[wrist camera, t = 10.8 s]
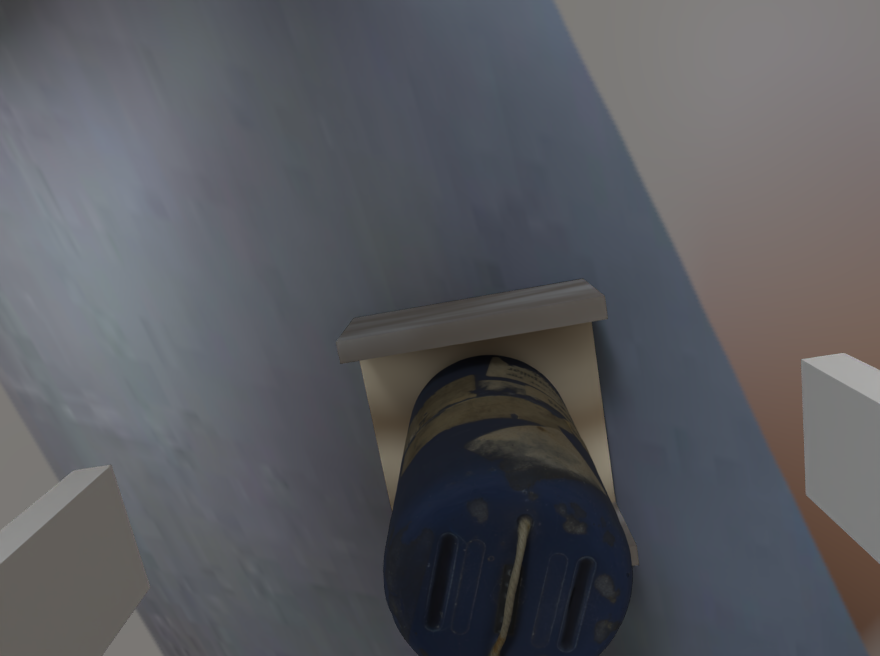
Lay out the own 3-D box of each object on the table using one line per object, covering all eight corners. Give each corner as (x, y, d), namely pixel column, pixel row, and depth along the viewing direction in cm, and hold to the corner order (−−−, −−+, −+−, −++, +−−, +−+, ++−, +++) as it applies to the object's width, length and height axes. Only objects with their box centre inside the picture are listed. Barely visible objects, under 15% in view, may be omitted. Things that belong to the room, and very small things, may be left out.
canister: (592, 386, 39) (704, 552, 22) (524, 517, 41) (577, 765, 24) (447, 322, 39) (442, 441, 21) (385, 458, 41) (333, 670, 23)
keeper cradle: (353, 318, 40) (335, 342, 34) (583, 278, 39) (605, 296, 33) (401, 543, 43) (392, 600, 37) (614, 511, 42) (639, 565, 36)
